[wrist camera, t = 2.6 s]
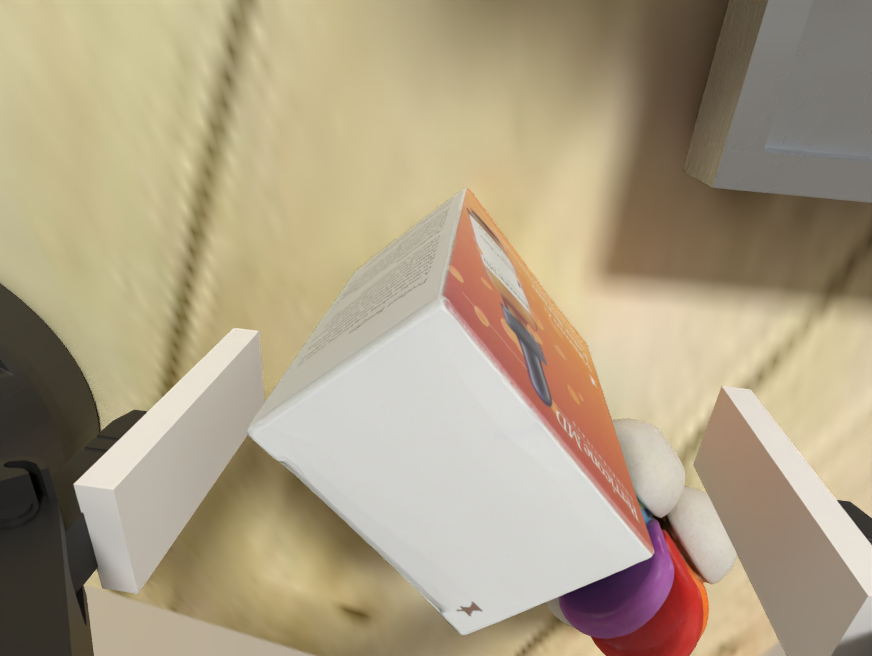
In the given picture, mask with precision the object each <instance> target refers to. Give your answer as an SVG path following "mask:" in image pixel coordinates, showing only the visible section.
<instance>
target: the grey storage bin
mask: <svg viewBox="0 0 872 656" xmlns="http://www.w3.org/2000/svg"><path fill="white" fill-rule="evenodd" d="M683 172H685V173H687V174H688V175H690V176H692V177H694V178H696V179H697V180H699V181H701V182H703V183H705V184H706V185H708V186H710V187H712V188H720V189H730V190H741V191H751V192H762V193H773V194H783V195H794V196H804V197H815V198H825V199H836V200H847V201H857V202H868V203H872V0H729V3H728V6H727V10H726V14H725V17H724V21H723V25H722V28H721V32H720V36H719V39H718V43H717V47H716V51H715V54H714V58H713V62H712V65H711V69H710V73H709V76H708V80H707V84H706V87H705V91H704V95H703V98H702V102H701V106H700V109H699V112H698V114H697V117H696V122H695V128H694V131H693V135H692V139H691V142H690V146H689V150H688V154H687V157H686V161H685V165H684V168H683Z"/></svg>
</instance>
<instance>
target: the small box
mask: <svg viewBox="0 0 872 656" xmlns="http://www.w3.org/2000/svg"><path fill="white" fill-rule="evenodd" d="M247 432H248V435H249V436H250V437H251V438H252V439H253V440H254V441H255V442H256V443H257V444H258V445H259V446H261V447H262V448H263V449H264V450H265V451H266V452H267V453H268V454H269V455H270V456H271V457H273V458H274V459H275V460H277V461H279V462H280V463H281V464H283V465H284V466H285V467H286V468H287V469H288V470H290V471H291V472H292V473H293V474H294V475H295V476H296V477H297V478H299V479H300V480H301V481H302V482H303V483H304V484H305V485H306V486H307V487H308V488H309V489H310V490H311V491H312V492H314V493H315V494H316V495H317V496H318V497H319V498H320V499H321V500H322V501H323V502H324V503H325V504H326V505H328V506H329V507H330V508H331V509H332V510H333V511H334V512H335V513H336V514H337V515H338V516H339V517H340V518H342V519H343V520H344V521H345V522H346V523H347V524H348V525H349V526H350V527H351V528H352V529H353V530H354V531H355V532H356V533H357V534H359V535H360V536H361V537H362V538H363V539H364V540H365V541H366V542H367V543H368V544H369V545H370V546H371V547H373V548H374V549H375V550H376V551H377V552H378V553H379V554H380V555H381V556H382V557H383V558H384V559H385V560H386V561H387V562H388V563H389V564H390V565H391V566H393V567H394V568H395V569H396V570H397V571H398V572H399V573H400V574H401V575H402V576H403V577H404V578H405V579H406V580H407V581H408V582H409V583H410V584H411V585H412V586H413V587H415V588H416V589H417V590H418V591H419V592H420V593H421V594H422V595H423V596H424V597H425V598H426V599H427V600H428V601H429V602H430V603H431V604H432V605H433V606H434V607H435V608H436V610H437V611H438V612H439V614H440V615H441V616H442V617H443V618H444V619H445V620H446V621H447V622H448V623H449V624H450V625H451V626H452V627H453V628H454V629H455V630H456V632H457V633H458V634H460V635H463V636H464V635H467V634H470V633H472V632H475V631H477V630H480V629H482V628H485V627H487V626H489V625H492V624H495V623H498V622H500V621H502V620H504V619H507V618H509V617H512V616H514V615H517V614H519V613H521V612H524V611H526V610H528V609H531V608H533V607H535V606H538V605H540V604H542V603H545V602H547V601H550V600H552V599H555V598H557V597H559V596H562V595H564V594H566V593H569V592H571V591H574V590H576V589H578V588H581V587H583V586H586V585H588V584H591V583H593V582H595V581H598V580H600V579H603V578H605V577H608V576H610V575H612V574H614V573H617V572H619V571H622V570H624V569H626V568H628V567H630V566H633V565H635V564H637V563H639V562H642V561H644V560H647V559H649V558H651V557H652V556H653V554H654V548H653V545H652V542H651V539H650V536H649V533H648V530H647V527H646V524H645V521H644V518H643V515H642V512H641V509H640V506H639V503H638V500H637V497H636V494H635V491H634V488H633V485H632V481H631V478H630V475H629V472H628V469H627V466H626V463H625V459H624V456H623V453H622V450H621V447H620V444H619V441H618V438H617V435H616V431H615V428H614V425H613V422H612V419H611V416H610V413H609V410H608V407H607V404H606V401H605V397H604V394H603V391H602V388H601V385H600V382H599V379H598V376H597V373H596V370H595V367H594V364H593V361H592V358H591V355H590V352H589V349H588V346H587V344H586V342H585V341H584V340H583V338H582V337H581V336H580V335H579V334H578V332H577V331H576V330H575V328H574V327H573V326H572V325H571V324H570V322H569V321H568V320H567V319H566V318H565V316H564V315H563V314H562V312H561V311H560V310H559V309H558V307H557V306H556V305H555V303H554V302H553V301H552V299H551V298H550V297H549V296H548V294H547V293H546V292H545V290H544V289H543V288H542V286H541V285H540V283H539V282H538V281H537V279H536V278H535V277H534V275H533V274H532V273H531V271H530V270H529V268H528V267H527V266H526V264H525V263H524V262H523V260H522V259H521V257H520V256H519V255H518V253H517V252H516V251H515V249H514V248H513V246H512V245H511V244H510V242H509V241H508V240H507V238H506V237H505V236H504V234H503V233H502V232H501V230H500V229H499V228H498V226H497V225H496V224H495V223H494V221H493V220H492V218H491V217H490V216H489V214H488V213H487V212H486V210H485V209H484V208H483V206H482V205H481V203H480V202H479V201H478V199H477V198H476V197H475V195H474V194H473V193H472V191H471V190H470V189H468V188H463V189H462V190H461V191H459V192H458V193H456V194H455V195H454V196H452V197H451V198H450V199H448V200H447V201H446V202H444V203H443V204H441V205H440V206H439V207H438V208H436V209H435V210H434V211H432V212H431V213H430V214H428V215H427V216H426V217H424V218H423V219H422V220H420V221H419V222H418V223H417V224H415V225H414V226H413V227H411V228H410V229H409V230H408V231H406V232H405V233H404V234H402V235H401V236H400V237H398V238H397V239H396V240H394V241H393V242H392V243H391V244H389V245H388V246H387V247H385V248H384V249H383V250H381V251H380V252H379V253H378V254H376V255H375V256H374V257H372V258H371V259H370V260H369V261H368V262H366V263H365V264H364V265H363V266H361V267H360V268H359V269H357V270H356V271H355V272H354V274H353V276H352V277H351V279H350V280H349V281H348V283H347V284H346V286H345V287H344V288H343V290H342V291H341V293H340V294H339V296H338V297H337V298H336V300H335V301H334V303H333V304H332V306H331V307H330V308H329V310H328V311H327V313H326V314H325V316H324V317H323V318H322V320H321V321H320V323H319V324H318V326H317V327H316V329H315V330H314V332H313V333H312V334H311V336H310V337H309V339H308V340H307V342H306V343H305V345H304V346H303V347H302V349H301V351H300V352H299V354H298V355H297V357H296V358H295V359H294V361H293V362H292V364H291V365H290V367H289V368H288V370H287V371H286V373H285V374H284V375H283V377H282V378H281V380H280V381H279V383H278V384H277V385H276V387H275V388H274V390H273V391H272V393H271V394H270V396H269V397H268V399H267V400H266V401H265V403H264V404H263V406H262V407H261V408H260V410H259V411H258V413H257V414H256V416H255V417H254V419H253V420H252V421H251V423H250V424H249V426H248V429H247Z"/></svg>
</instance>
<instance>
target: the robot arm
mask: <svg viewBox="0 0 872 656" xmlns="http://www.w3.org/2000/svg"><path fill="white" fill-rule="evenodd" d="M264 403H265V401H264V387H263V373H262V359H261V346H260V332H259V331H256V330H248V329H240V328H233V329H232V330H231V331H230V332H229V333H228V334H227V335H226V336H225V337H224V338H223V339H222V340H221V341H220V342H219V343H218V344H217V345H216V346H215V347H214V348H213V349H212V350H211V351H210V352H209V353H208V354H207V355H206V356H204V357H203V358H202V359H201V360H200V361H199V362H198V363H197V364H196V365H195V366H194V367H193V368H192V369H191V370H190V371H189V372H188V373H187V374H186V375H185V376H184V377H183V378H182V379H181V380H180V381H179V382H178V383H177V384H176V385H175V386H174V387H173V388H172V389H171V390H170V391H169V392H168V393H167V394H165V395H164V396H163V397H162V398H161V399H160V400H159V401H158V402H157V403H156V404H155V405H154V406H153V407H152V408H151V409H150V410H149V411H148V412H147V411H140V410H133V411H131V412H129V413H127V414H125V415H123V416H121V417H119V418H118V419H116V420H114V421H112V422H111V423H110V424H109V425H108V426H107V427H106V428H104V429H103V430H102V431H101V432H100V433H99V425H98V418H97V413H96V409H95V405H94V402H93V398H92V396H91V393H90V390H89V388H88V386H87V383H86V381H85V379H84V377H83V375H82V373H81V371H80V370H79V368H78V366H77V364H76V363H75V361H74V359H73V358H72V356H71V355H70V353H69V352H68V351H67V349H66V348H65V346H64V345H63V344H62V342H61V341H60V340H59V338H58V337H57V336H56V335H55V333H54V332H53V331H52V330H51V329H50V328H49V327H48V325H47V324H46V323H45V322H44V321H43V320H42V319H41V318H40V317H39V316H38V315H37V314H36V313H35V312H34V311H33V310H32V309H31V308H30V307H28V306H27V305H26V304H25V303H24V302H23V301H22V300H21V299H19V298H18V297H17V296H16V295H15V294H13V293H12V292H11V291H9V290H8V289H7V288H6V287H4V286H3V285H2V284H0V656H94V653H93V645H92V637H91V629H90V620H89V613H88V604H87V596H86V592H85V589H84V586H83V585H84V584H85V582H86V581H87V580H88V579H89V577H90V576H91V575H92V574H93V572H94V571H95V570H96V569H97V571H98V574H99V578H100V582H101V585H102V588H104V589H110V590H117V591H123V592H130V593H136V594H139V592H140V591H141V589H142V588H143V586H144V585H145V583H146V582H147V580H148V579H149V578H150V576H151V575H152V573H153V572H154V570H155V569H156V567H157V566H158V565H159V563H160V562H161V560H162V559H163V557H164V556H165V554H166V553H167V551H168V550H169V549H170V547H171V546H172V544H173V543H174V541H175V540H176V538H177V537H178V535H179V534H180V533H181V531H182V530H183V528H184V527H185V525H186V524H187V522H188V521H189V519H190V518H191V517H192V515H193V514H194V512H195V511H196V509H197V508H198V506H199V505H200V504H201V502H202V501H203V499H204V498H205V496H206V495H207V493H208V492H209V490H210V489H211V488H212V486H213V485H214V483H215V482H216V480H217V479H218V477H219V476H220V474H221V473H222V472H223V470H224V469H225V467H226V466H227V464H228V463H229V461H230V460H231V459H232V457H233V456H234V454H235V453H236V451H237V450H238V448H239V447H240V445H241V444H242V443H243V441H244V440H245V438H246V437H247V435H248V432H247V429H248V426H249V424H250V423H251V421H252V420H253V419H254V417H255V416H256V414H257V413H258V411H259V410H260V408H261V407H262V406H263V404H264ZM693 465H694V467H695V469H696V471H697V473H698V475H699V477H700V479H701V481H702V483H703V485H704V488H705V490H706V492H707V494H708V496H709V498H710V500H711V502H712V504H713V506H714V508H715V510H716V512H717V514H718V516H719V518H720V520H721V522H722V524H723V526H724V528H725V531H726V533H727V535H728V537H729V539H730V541H731V543H732V545H733V547H734V549H735V551H736V553H737V555H738V557H739V559H740V561H741V563H742V565H743V567H744V569H745V572H746V574H747V576H748V578H749V580H750V582H751V584H752V586H753V588H754V590H755V592H756V594H757V596H758V598H759V600H760V602H761V604H762V606H763V608H764V610H765V613H766V615H767V617H768V619H769V621H770V623H771V625H772V627H773V629H774V631H775V633H776V635H777V637H778V639H779V641H780V643H781V645H782V647H783V649H784V651H785V654H786V655H787V656H872V518H871V517H869V516H868V515H867V514H865V513H864V512H863V511H861V510H860V509H859V508H858V507H856V506H855V505H854V504H852V503H851V502H848V501H841V500H836V499H835V497H834V496H833V495H832V494H831V492H830V491H829V490H828V488H827V487H826V486H825V485H824V483H823V482H822V481H821V479H820V478H819V477H818V476H817V474H816V473H815V472H814V470H813V469H812V468H811V467H810V465H809V464H808V463H807V462H806V460H805V459H804V458H803V456H802V455H801V454H800V453H799V451H798V450H797V449H796V447H795V446H794V445H793V444H792V442H791V441H790V440H789V438H788V437H787V436H786V435H785V433H784V432H783V431H782V429H781V428H780V427H779V426H778V424H777V423H776V422H775V420H774V419H773V418H772V417H771V415H770V414H769V413H768V411H767V410H766V409H765V408H764V406H763V405H762V404H761V403H760V401H759V400H758V399H757V397H756V396H755V395H754V394H753V392H752V391H751V390H750V389H742V388H734V387H725V386H722V387H721V390H720V393H719V395H718V398H717V401H716V404H715V406H714V409H713V412H712V415H711V417H710V420H709V423H708V426H707V428H706V431H705V434H704V437H703V439H702V442H701V445H700V448H699V451H698V453H697V456H696V459H695V462H694V464H693Z"/></svg>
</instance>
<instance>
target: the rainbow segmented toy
mask: <svg viewBox="0 0 872 656" xmlns="http://www.w3.org/2000/svg"><path fill="white" fill-rule="evenodd" d="M612 422H613V425H614V428H615V431H616V435H617V438H618V441H619V444H620V447H621V450H622V453H623V456H624V459H625V463H626V466H627V469H628V472H629V475H630V478H631V481H632V485H633V488H634V491H635V494H636V497H637V500H638V503H639V506H640V509H641V512H642V515H643V518H644V521H645V524H646V527H647V530H648V533H649V536H650V539H651V542H652V545H653V548H654V554H653V556H652V557H651V558H649V559H647V560H644V561H642V562H639V563H637V564H635V565H633V566H630V567H628V568H626V569H624V570H622V571H619V572H617V573H614V574H612V575H610V576H608V577H605V578H603V579H600V580H598V581H595V582H593V583H591V584H588V585H586V586H583V587H581V588H578V589H576V590H574V591H571V592H569V593H566V594H564V595H562V596H559V597H557V598H555V599H552V600H550V601H547V602H545V604H546V605H547V607H548V608H549V610H550V611H551V612H552V613H553V614H554V615H555V616H556V617H557V618H558V619H559V620H561V621H562V622H564V623H565V624H567V625H569V626H572V627H574V628H576V629H577V630H579V631H580V632H582V633H584V634H586V635H589V636H591V638H592V639H593V641H594V643H595V644H596V646H597V647H598V648H599V649H600V650H601V651H602V652H603V653H604V654H605V655H606V656H690V654H691V653H692V651H693V650H694V648H695V647H696V645H697V642H698V641H699V639H700V637H701V636H702V634H703V632H704V630H705V627H706V625H707V620H708V612H709V605H708V597H707V593H706V589H705V587H704V585H703V582H707V583H710V584H715V583H717V582H719V581H720V580H722V579H723V578H724V577H725V576H726V575H727V574H728V573H729V572H730V570H731V568H732V567H733V565H734V563H735V560H736V557H737V553H736V551H735V549H734V547H733V545H732V543H731V541H730V539H729V537H728V535H727V533H726V531H725V528H724V526H723V524H722V522H721V520H720V518H719V516H718V514H717V512H716V510H715V508H714V506H713V504H712V502H711V500H710V498H709V496H708V494H706V493H704V492H702V491H700V490H698V489H695V488H692V487H688V486H684V485H685V470H684V468H683V465H682V463H681V461H680V460H679V458H678V456H677V454H676V453H675V451H674V450H673V448H672V447H671V445H670V444H669V442H668V441H667V439H666V438H665V437H664V435H663V434H662V433H661V432H660V431H659V429H657V428H656V427H655V426H653V425H651V424H649V423H646V422H644V421H639V420H634V419H618V420H613V421H612ZM665 515H666V519H665V522H664V521H663V520H662V517H664V516H665Z"/></svg>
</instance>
